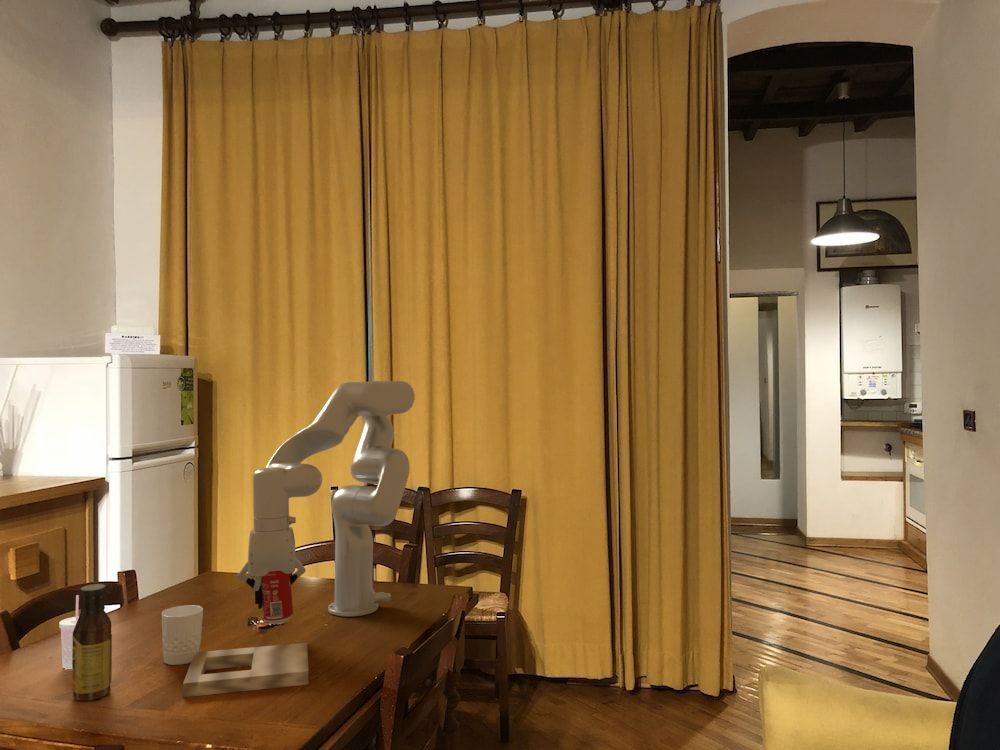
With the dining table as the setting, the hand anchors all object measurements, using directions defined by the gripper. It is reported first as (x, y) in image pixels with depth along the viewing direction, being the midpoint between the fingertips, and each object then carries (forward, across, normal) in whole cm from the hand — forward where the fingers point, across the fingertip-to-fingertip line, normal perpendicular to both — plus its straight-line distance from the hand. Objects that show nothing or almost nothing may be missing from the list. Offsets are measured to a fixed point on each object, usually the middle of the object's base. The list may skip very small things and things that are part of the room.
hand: (272, 604), depth 157 cm
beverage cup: (+7, +38, +4) cm, 39 cm away
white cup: (+8, +18, +6) cm, 20 cm away
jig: (+8, +4, +18) cm, 20 cm away
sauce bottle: (+7, +31, +21) cm, 38 cm away
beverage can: (+4, -1, 0) cm, 4 cm away
